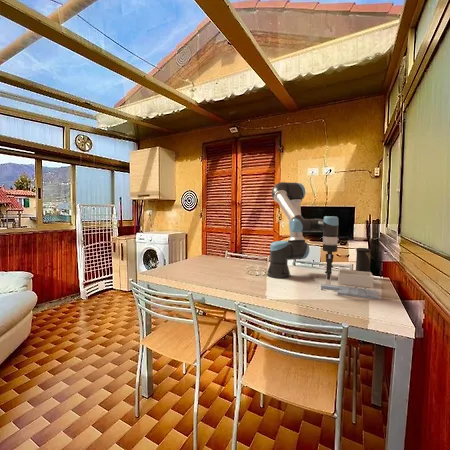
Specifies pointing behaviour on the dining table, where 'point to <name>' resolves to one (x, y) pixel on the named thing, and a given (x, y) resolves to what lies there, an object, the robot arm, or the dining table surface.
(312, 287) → the dining table surface
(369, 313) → the dining table surface
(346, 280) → the tub
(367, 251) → the container
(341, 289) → the grey segmented tray
